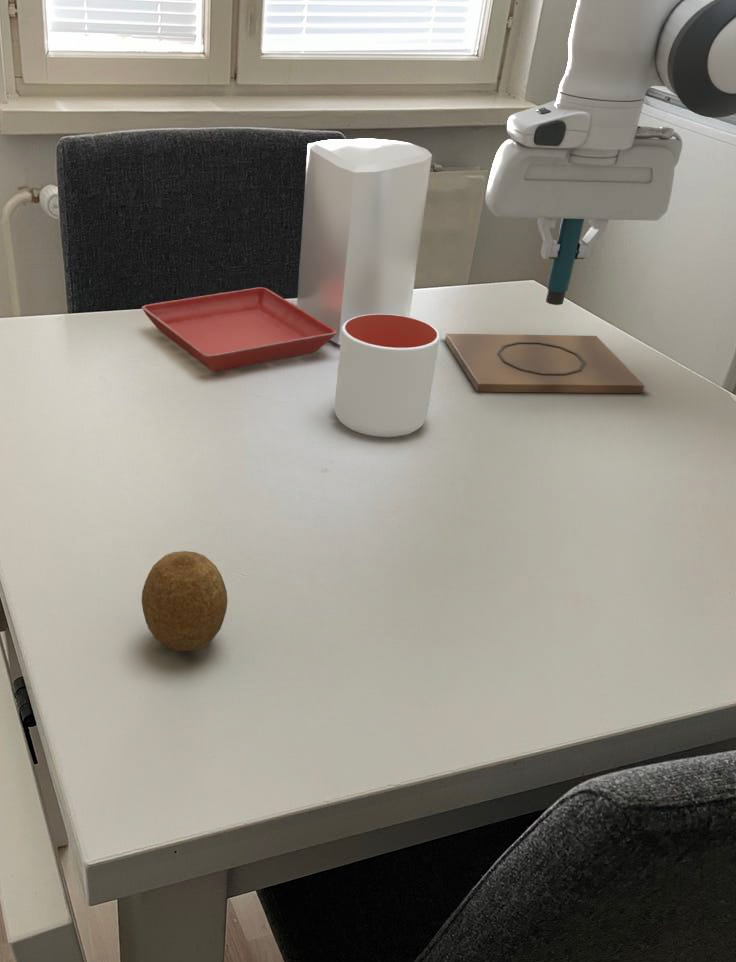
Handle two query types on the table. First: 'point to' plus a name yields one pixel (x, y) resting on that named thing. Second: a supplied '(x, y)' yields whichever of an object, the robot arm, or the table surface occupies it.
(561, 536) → the table surface
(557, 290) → the marker
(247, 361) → the plant saucer
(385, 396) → the cup
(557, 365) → the pad
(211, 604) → the fruit
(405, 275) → the silvery white canister
